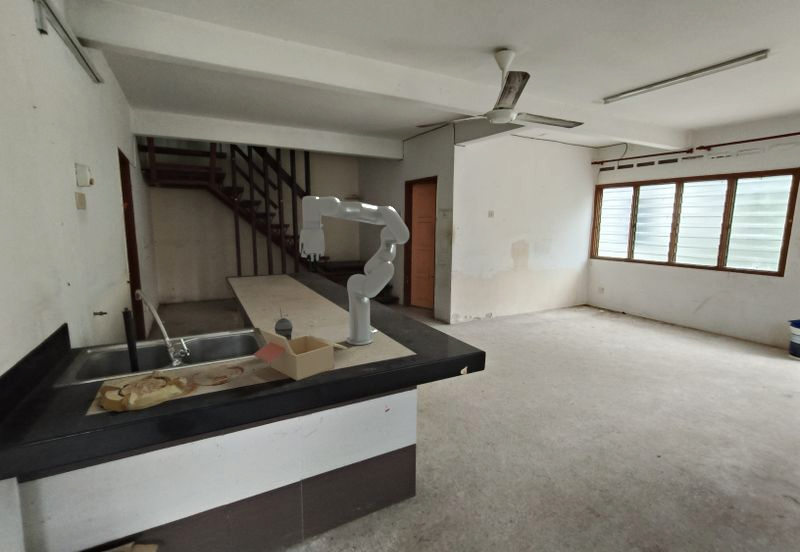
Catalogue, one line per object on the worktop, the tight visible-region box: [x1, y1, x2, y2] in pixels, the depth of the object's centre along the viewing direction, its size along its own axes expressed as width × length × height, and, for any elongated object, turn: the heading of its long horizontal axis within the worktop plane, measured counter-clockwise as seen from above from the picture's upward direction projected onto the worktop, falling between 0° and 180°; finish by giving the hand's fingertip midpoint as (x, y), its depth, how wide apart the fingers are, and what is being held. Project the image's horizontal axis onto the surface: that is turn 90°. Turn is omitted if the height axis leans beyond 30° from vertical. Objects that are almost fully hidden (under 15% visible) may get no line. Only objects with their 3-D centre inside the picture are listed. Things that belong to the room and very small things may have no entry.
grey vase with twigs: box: [274, 307, 293, 340], centre depth 156 cm, size 7×7×20 cm
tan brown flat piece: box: [98, 369, 188, 412], centre depth 121 cm, size 24×24×5 cm
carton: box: [270, 335, 335, 381], centre depth 143 cm, size 16×18×9 cm
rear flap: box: [308, 335, 348, 350], centre depth 151 cm, size 7×17×1 cm, turn 47°
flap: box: [253, 327, 294, 364], centre depth 132 cm, size 7×17×8 cm
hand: (313, 270), depth 158 cm, fingers closed
